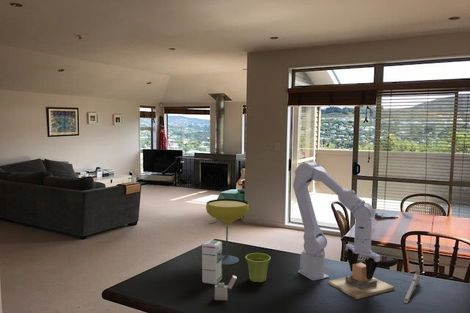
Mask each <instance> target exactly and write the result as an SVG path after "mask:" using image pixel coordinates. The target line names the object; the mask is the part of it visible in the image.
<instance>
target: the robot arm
mask: <svg viewBox="0 0 470 313" xmlns="http://www.w3.org/2000/svg"><path fill="white" fill-rule="evenodd" d="M294 174H295V175H294V179H293V182H292V183H293V184H292V186H293V187H292V188H293V191H294V192H293V193H294V195H295V199H296V202H297V205H298V206H297V207H298V210H299V213H300V217H301V220H302V224H303V229H304V232H303V233H304V234H303V240H304V242H303V249H304V250H303V251H301V254H300V255H299V257H300V258H299V259H300V260H299V270H297V272H298V273H299V274H300V275H302V276H303V277H306V278H308V279H309V280H311V281H318V280H323V279H327V278H330V276H329V275H328V274H326V273H325V262H326V261H325V258H326V254H325V253H326V251H325V248H326V247H327V245H328V239H327V237H326V235H324V233H323V231H322V229H321V227H319V224H318V220H317V217H316V214H315V210H314V205H313V202H312V199H311V194H310V192H309V186H310V184H312V181H314V182H315V181H317V182H321V183H322V184H324V185H325V186H326V187H327V188H329V190H331V191H332V192H333V193H334V194H336V195H337V197H338V198H337V199H338V201H339V202H340V204H341V205H343V206H344V207H345V208H346V209H347V210H348V211H349V212H350V213H352V214H353V217H354V220H355V224H354V243H353V244H352V243H347V244H345V250H346V251H345V252H344V254H345V256H346V258H347V261H348V263H349V269H350V272H352V267H353V264H356V263H358V260H359V256H360V255H361V256H363V257H365V258H367V259H364V261H363V262H364V264H365V265H366V276H367V279H372V278H373V277H374V274H375V271H376V269H377V267H378V266H379V265H380V263H381V255H380V254H377V253H376V252H375V251H373V250H372V234H373V233H372V231H373V230H372V229H373V226H372V223H373V219H372V217H373V216H374V214H375V210H374V207H373V206H372V205H371V204H370V203H367V202H366V201H365V200H363V199H362V198H360V197H359V196H358V195H357V194H356V191H355V190H354V189H350V188H348V189H347V188H345V187H343V186H342V185H341V184H340V183H339V182H338V181H337V180H336V179H335V178H334V177H333V176H332V175H331V174H330V173H329V172H327V170H326V169H325V168H324V167H323V166H321V165H320V164H319V163H318V162H316V161H308V162H302V163H300V164H298V166H297V168H296V169H295V170H294Z"/></svg>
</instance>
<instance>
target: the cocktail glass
mask: <svg viewBox="0 0 470 313" xmlns="http://www.w3.org/2000/svg"><path fill="white" fill-rule="evenodd" d="M249 208H250V206H249V202H248V201H245V200H242V199H234V198H219V199H212V200H211V199H210V200H208V201H207V202H206V205H205V210H206V212H207V214H208V215H209V216H210V217H212V218H213V219H216V220H218V221H220V222H221V223H222V224H223V225H224V226H225V228H226V230H225V231H226V233H225V234H226V235H225V254H224V255H222V266H229V265H235V264H238V263H239V262H240V259H239V257H237V256H233V255H229V251H228V250H229V249H228V248H229V247H228V246H229V243H228V237H229V236H228V235H229V232H228V230H229V227H230V225H231V224H232V223H233V222H235V221H237V220H240V219H241V218H243V217H245V216H246V215H247V214H248V212H249Z"/></svg>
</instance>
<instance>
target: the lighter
mask: <svg viewBox="0 0 470 313" xmlns="http://www.w3.org/2000/svg"><path fill="white" fill-rule="evenodd" d="M236 281H237V276H236V275H234V274H232V276H231V278H230V280H229V282H228V284H227V285H225V282H218V283H217V284H214V300H215V301H228V292H229V291H228V289H230V290H232V289H233V286H234V284H235V283H236Z"/></svg>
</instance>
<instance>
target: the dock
mask: <svg viewBox="0 0 470 313" xmlns="http://www.w3.org/2000/svg"><path fill="white" fill-rule="evenodd" d="M328 285H330V286H333V287H334V288H336V289H338V290H339V291H341V292H343V293H345V294H347V295H348V296H350V297H352V298H353V299H355V300H360V299H363V298H367V297H371V296H375V295H379V294H383V293H387V292H390V291H394V290H395V286H393V285H391V284H389V283H387V282H385V281H383V280H380V279H378V278H376V277H374V276H373V278H372V279H369V281H367V282H362V283H361V282H359V281H357V280H355V279H353V278H352V274H350V275H346V276H344V277H340V278H336V279H330V280H328Z"/></svg>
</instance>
